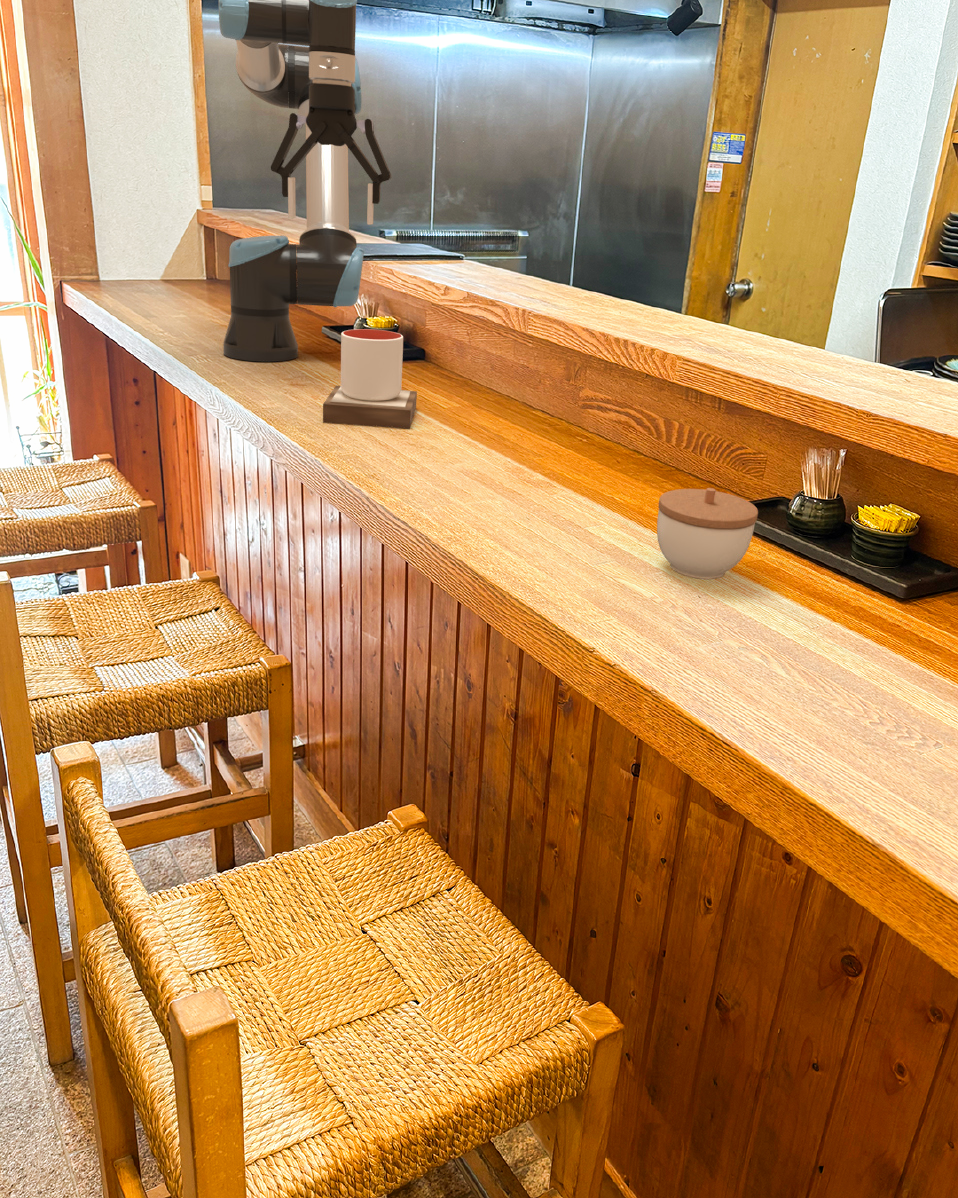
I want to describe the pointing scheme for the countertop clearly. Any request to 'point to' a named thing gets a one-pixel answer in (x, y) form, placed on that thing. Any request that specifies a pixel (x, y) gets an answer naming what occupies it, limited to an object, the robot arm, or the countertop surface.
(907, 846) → the countertop surface
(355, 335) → the cup
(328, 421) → the stand
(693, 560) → the lidded jar
